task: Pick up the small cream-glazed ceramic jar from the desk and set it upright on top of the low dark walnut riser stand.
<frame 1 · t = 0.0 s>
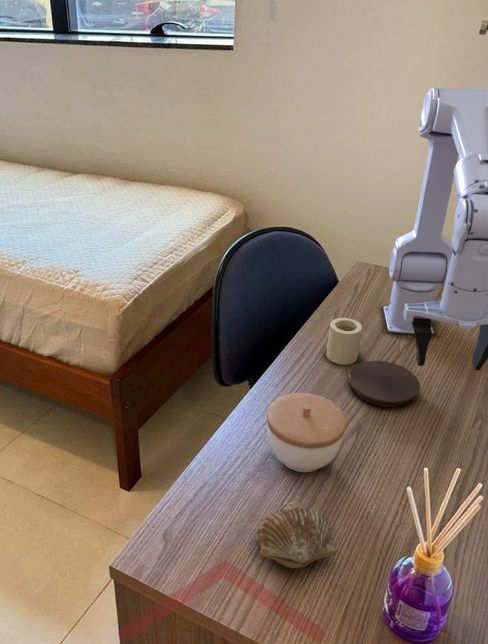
hand: (447, 364, 87), 10 cm above the table, tool pointing down, fingers open, 7 cm apart
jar: (341, 356, 108), on the table
trinket box: (301, 458, 87), on the table
stand: (382, 389, 99), on the table
seashell: (292, 554, 73), on the table
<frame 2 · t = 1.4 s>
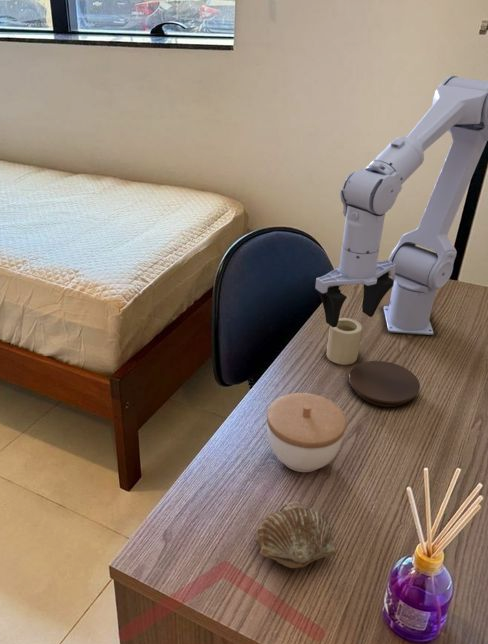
hand: (349, 319, 103), 8 cm above the table, tool pointing down, fingers open, 7 cm apart
nothing on the table moved.
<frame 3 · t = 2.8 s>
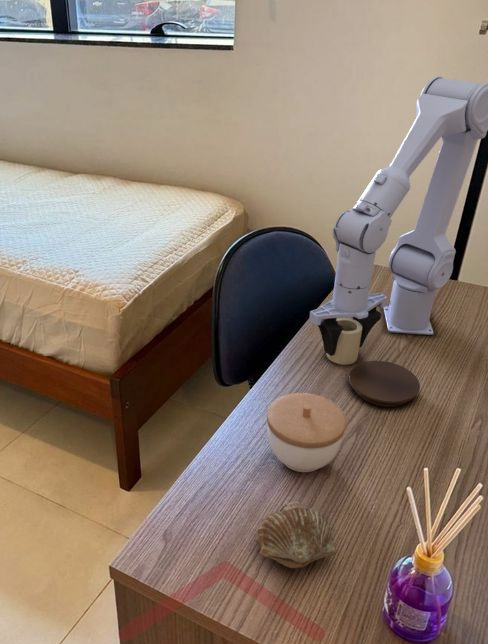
hand: (342, 348, 107), 2 cm above the table, tool pointing down, fingers closed on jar, 5 cm apart
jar: (341, 356, 108), on the table, touching gripper
everything else where it was.
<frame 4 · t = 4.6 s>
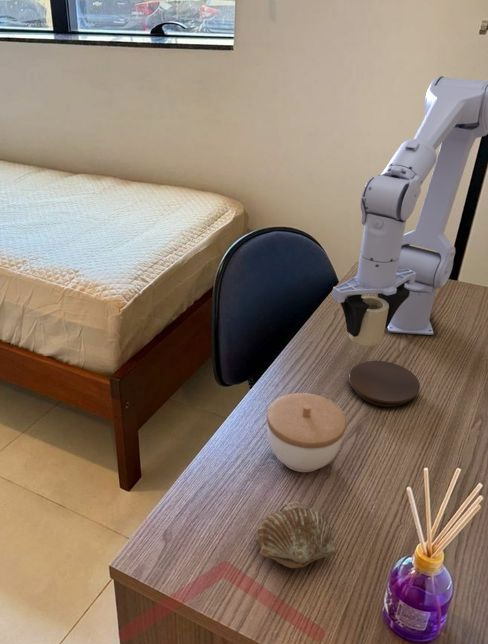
hand: (366, 329, 99), 9 cm above the table, tool pointing down, fingers closed on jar, 5 cm apart
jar: (365, 337, 100), point 7 cm above the table, touching gripper
everything else where it was.
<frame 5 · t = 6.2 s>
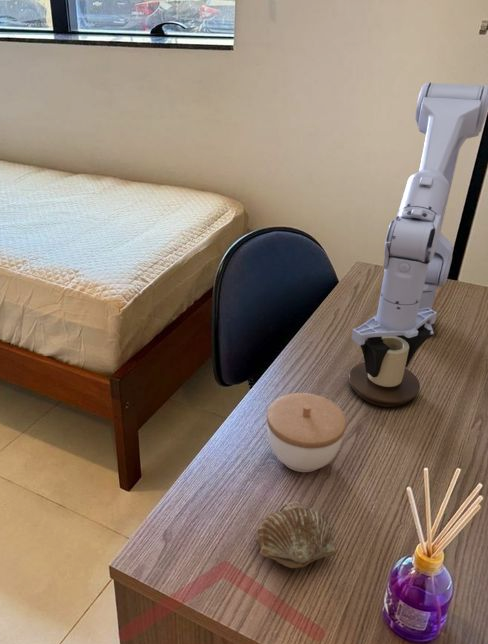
hand: (386, 369, 97), 4 cm above the table, tool pointing down, fingers closed on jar, 5 cm apart
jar: (384, 377, 98), point 3 cm above the table, touching gripper
everything else where it was.
when the fingers open (4 cm above the table, at t = 6.9 s): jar stays where it is, resting on stand.
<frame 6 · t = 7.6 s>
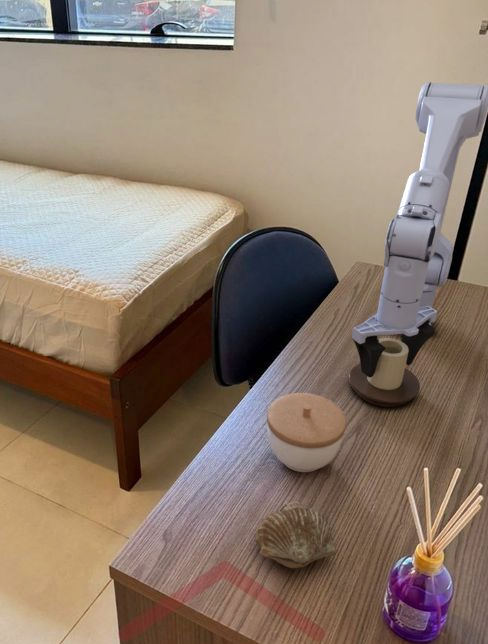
hand: (386, 367, 97), 4 cm above the table, tool pointing down, fingers open, 7 cm apart
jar: (384, 379, 98), point 2 cm above the table, touching stand
everything else where it was.
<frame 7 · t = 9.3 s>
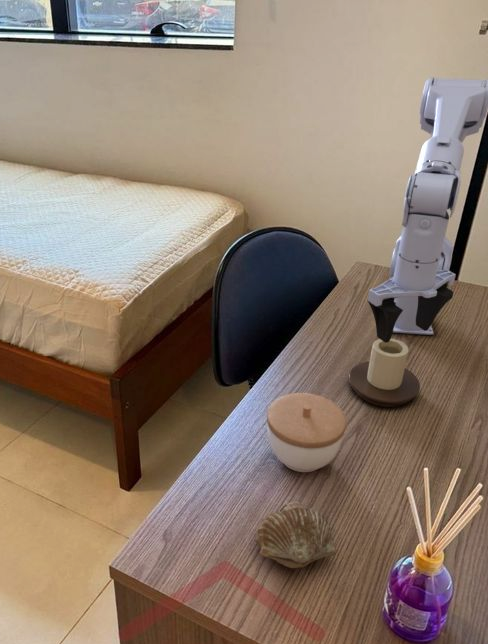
hand: (402, 333, 94), 10 cm above the table, tool pointing down, fingers open, 7 cm apart
nothing on the table moved.
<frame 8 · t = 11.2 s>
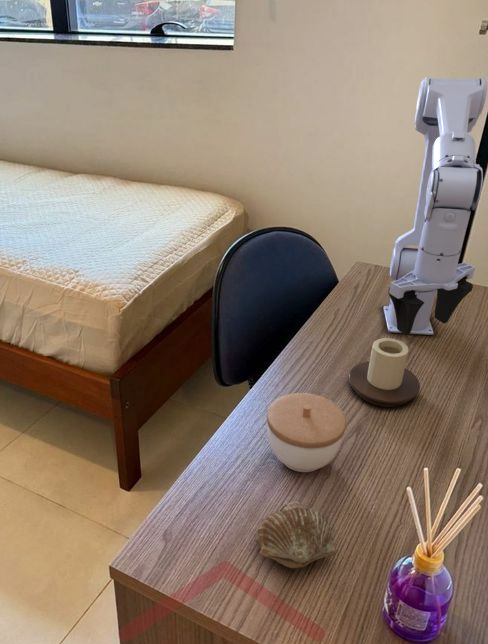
hand: (422, 325, 96), 10 cm above the table, tool pointing down, fingers open, 7 cm apart
nothing on the table moved.
at the end: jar 0.0 cm off-centre on the stand, point 2.0 cm above the stand's base; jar tilted 0°; the gripper is holding nothing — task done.
